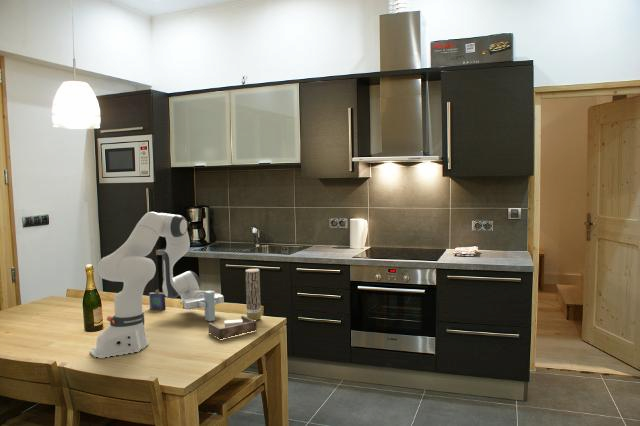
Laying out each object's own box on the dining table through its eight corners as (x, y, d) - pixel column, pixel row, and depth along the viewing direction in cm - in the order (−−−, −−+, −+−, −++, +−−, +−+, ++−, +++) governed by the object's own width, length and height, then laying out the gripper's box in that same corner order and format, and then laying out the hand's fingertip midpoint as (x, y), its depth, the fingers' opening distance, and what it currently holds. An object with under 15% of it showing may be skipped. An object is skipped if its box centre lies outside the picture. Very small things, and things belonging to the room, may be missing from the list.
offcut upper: (224, 329, 224) (224, 323, 223) (224, 327, 228) (224, 320, 228) (242, 328, 225) (242, 321, 225) (242, 325, 229) (242, 319, 229)
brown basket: (220, 340, 217) (220, 329, 217) (208, 333, 227) (208, 323, 226) (256, 332, 228) (256, 321, 228) (243, 325, 238) (243, 315, 237)
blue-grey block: (209, 321, 243) (208, 293, 242) (205, 319, 247) (203, 291, 246) (215, 320, 245) (213, 292, 244) (210, 317, 249) (209, 290, 248)
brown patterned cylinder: (244, 320, 246) (242, 270, 244) (252, 316, 252) (250, 268, 250) (255, 322, 243) (254, 271, 241) (263, 318, 249) (262, 269, 247)
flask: (148, 309, 271) (148, 290, 270) (151, 308, 273) (151, 288, 273) (164, 310, 268) (163, 290, 268) (167, 308, 271) (166, 289, 270)
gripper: (178, 296, 249) (189, 301, 238) (216, 290, 262) (228, 295, 251) (179, 308, 250) (190, 314, 239) (216, 302, 262) (228, 307, 251)
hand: (210, 304), depth 245 cm, fingers closed on blue-grey block, 3 cm apart
